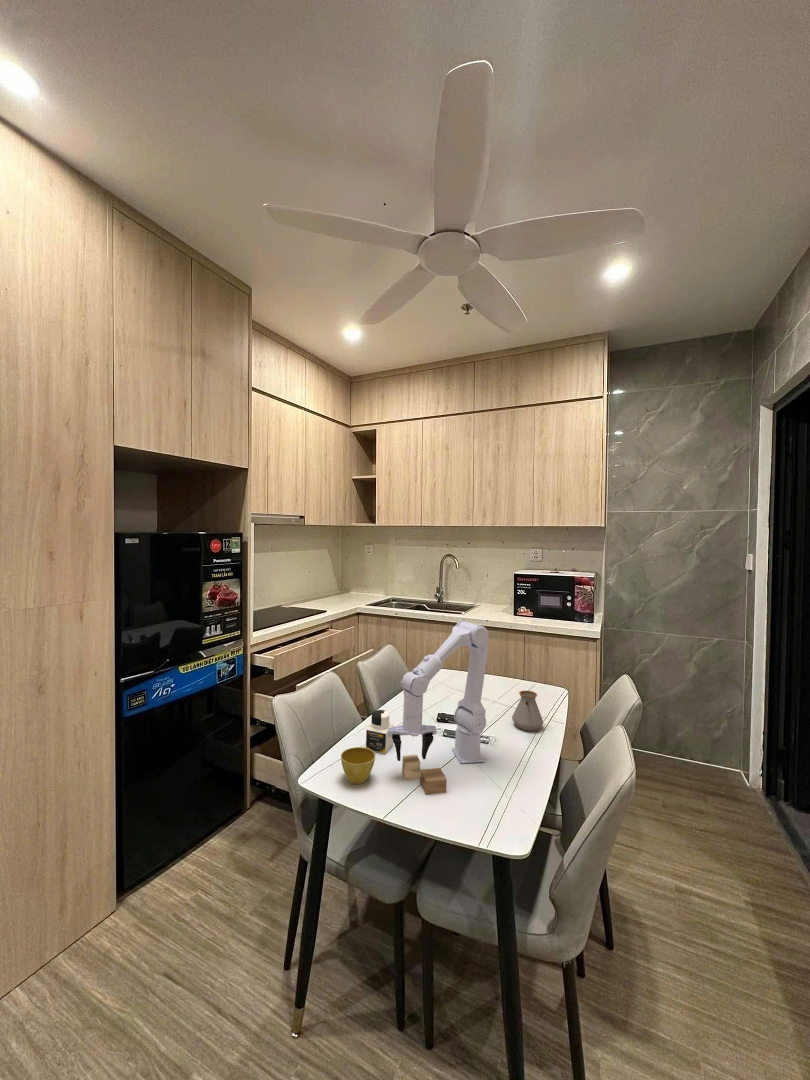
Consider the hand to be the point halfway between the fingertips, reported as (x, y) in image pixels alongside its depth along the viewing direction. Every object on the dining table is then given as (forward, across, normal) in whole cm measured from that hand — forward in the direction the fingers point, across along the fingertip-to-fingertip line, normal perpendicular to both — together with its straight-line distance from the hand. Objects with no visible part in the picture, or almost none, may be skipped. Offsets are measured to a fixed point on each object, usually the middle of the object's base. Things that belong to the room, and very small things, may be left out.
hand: (411, 758), depth 131 cm
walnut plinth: (+5, +5, -7) cm, 10 cm away
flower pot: (+5, -16, 0) cm, 17 cm away
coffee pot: (+5, +49, +23) cm, 54 cm away
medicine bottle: (+5, -7, +18) cm, 20 cm away
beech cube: (+5, 0, 0) cm, 5 cm away
